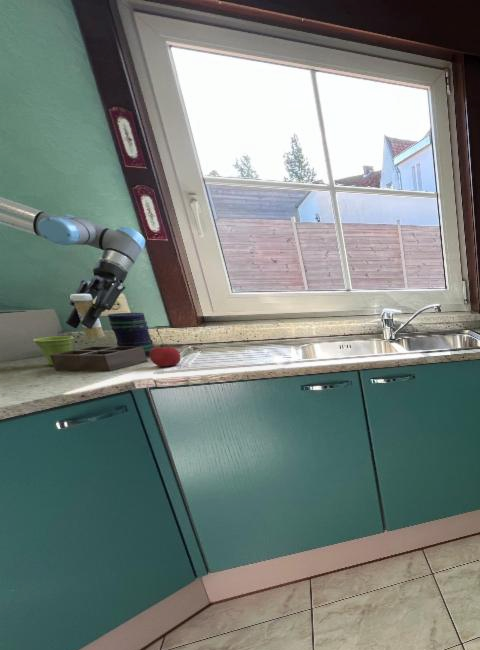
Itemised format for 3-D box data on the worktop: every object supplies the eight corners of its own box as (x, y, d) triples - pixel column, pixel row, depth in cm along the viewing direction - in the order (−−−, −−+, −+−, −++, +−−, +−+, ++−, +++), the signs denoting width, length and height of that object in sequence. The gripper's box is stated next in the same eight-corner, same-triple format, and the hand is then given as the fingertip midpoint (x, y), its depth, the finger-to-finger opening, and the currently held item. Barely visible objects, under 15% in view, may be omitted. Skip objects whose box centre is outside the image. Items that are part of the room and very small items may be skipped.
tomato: (154, 364, 168) (147, 343, 165) (183, 362, 172) (177, 342, 170) (151, 369, 162) (144, 347, 159) (182, 366, 166) (175, 345, 164)
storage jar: (163, 354, 184) (151, 313, 179) (135, 359, 175) (121, 316, 170) (143, 352, 186) (130, 312, 181) (114, 357, 177) (99, 314, 172)
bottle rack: (55, 370, 157) (49, 355, 155) (97, 360, 172) (92, 346, 170) (110, 371, 159) (104, 355, 157) (147, 361, 173) (142, 346, 171)
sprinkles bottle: (82, 338, 156) (66, 294, 151) (97, 336, 161) (82, 293, 156) (94, 338, 156) (78, 294, 151) (109, 336, 160) (94, 293, 155)
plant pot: (36, 368, 160) (25, 341, 157) (52, 362, 168) (42, 336, 164) (74, 366, 163) (64, 340, 160) (88, 360, 171) (79, 335, 168)
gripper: (147, 277, 165) (115, 334, 156) (99, 275, 166) (65, 332, 157) (126, 260, 158) (92, 319, 149) (77, 259, 159) (39, 317, 150)
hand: (78, 325), depth 153 cm, fingers closed on sprinkles bottle, 4 cm apart
